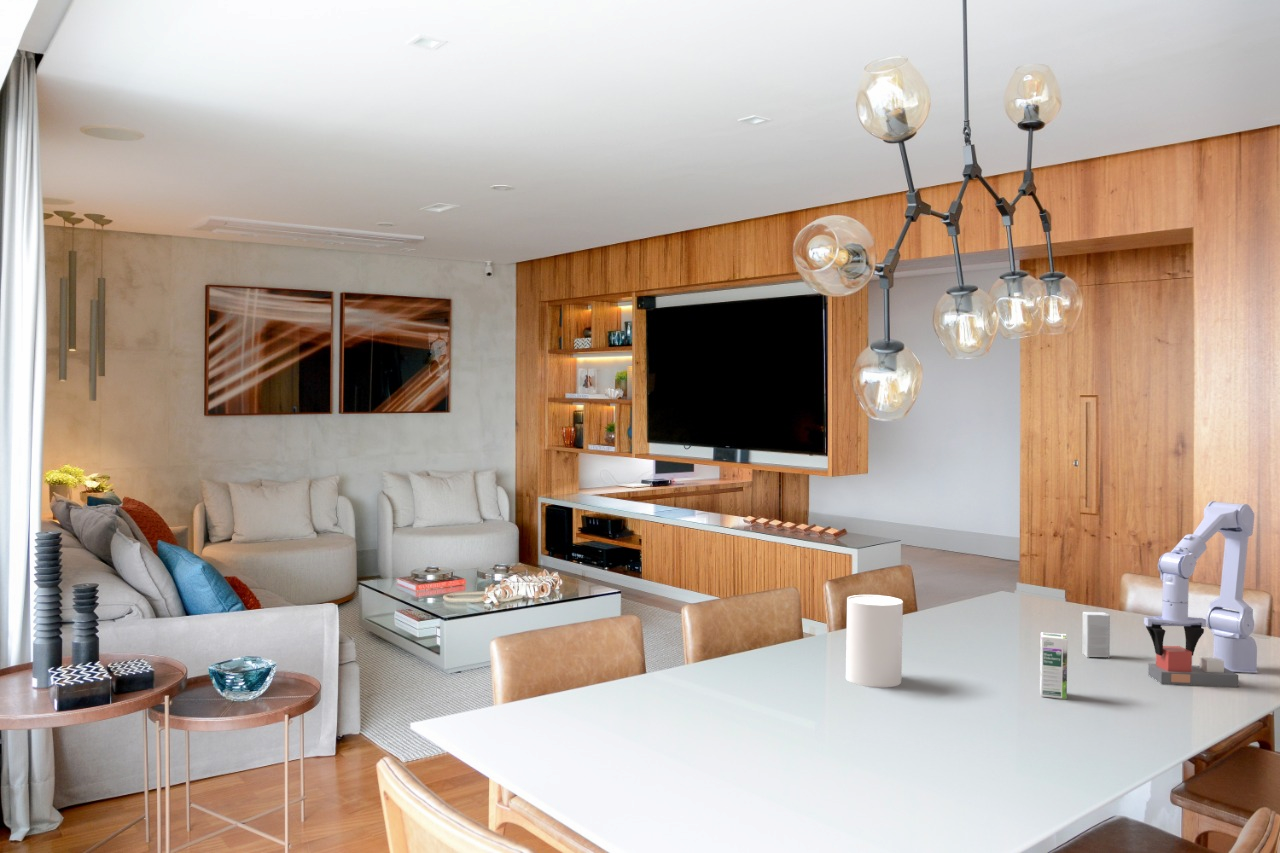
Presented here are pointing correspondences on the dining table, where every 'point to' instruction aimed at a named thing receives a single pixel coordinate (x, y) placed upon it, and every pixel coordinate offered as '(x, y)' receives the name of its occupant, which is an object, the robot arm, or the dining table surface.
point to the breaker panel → (1194, 677)
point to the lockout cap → (1175, 659)
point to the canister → (874, 640)
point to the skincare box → (1095, 634)
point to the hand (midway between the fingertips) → (1174, 654)
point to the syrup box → (1053, 665)
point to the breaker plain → (1212, 664)
